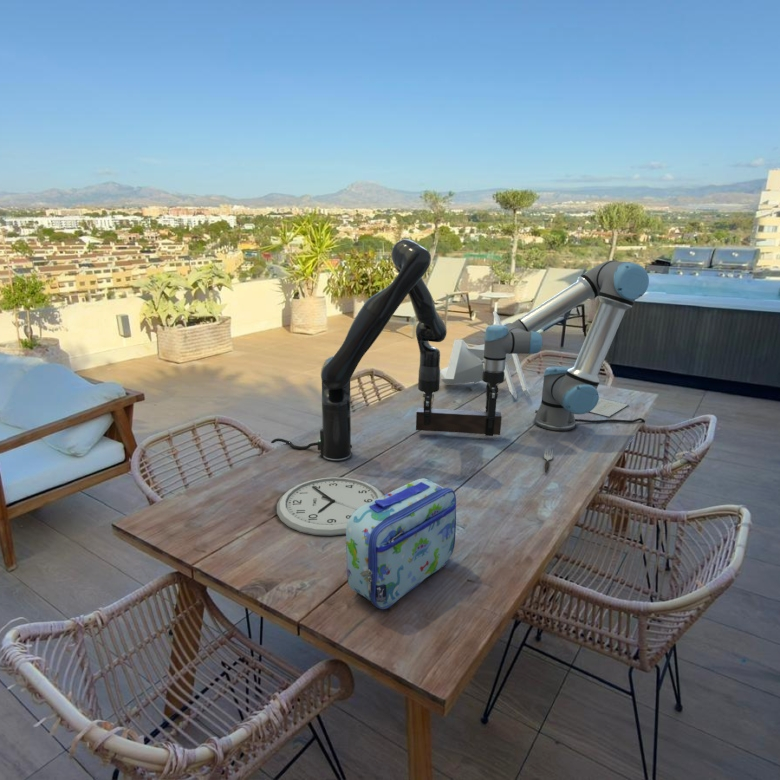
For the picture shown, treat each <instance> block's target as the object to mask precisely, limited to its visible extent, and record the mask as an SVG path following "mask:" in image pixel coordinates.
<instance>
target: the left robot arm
mask: <svg viewBox="0 0 780 780" xmlns="http://www.w3.org/2000/svg"><path fill="white" fill-rule="evenodd" d="M390 256H391V262H392V264H393V265H394V268H395V269H396V270H397V273H398V274H397V275H396V277H395V278H394V279H393V280H392V282H391V283H390V284H389V285H388V286H387V287H385V288H383V289H381V290H380V291H378V292H377V293H375V294H374V295H372V296H371V297H369V298H367V300H365V302H364V303H363V305H362V306H361V308H360V310H359V311H358V312H357V314H356V316H355V317H354V319H353V321H352V323H351V325H350V327H349V329H348V332H347V334H346V336H345V338H344V341H343V343H342V344H341V346H340V347H339V349H338V350H337V351H336V352H335V354H334V355H332V356H330V357H328V358H326V359H325V360H324V361H323V363H322V365H321V368H320V369H321V370H320V380H321V422H322V423H321V425H322V428H321V429H319V440H317V442H316V441H315V442H311V443H309V444H308V445H302V446H301V445H294V444H293V442H292V441H290V440H287V439H284V438H274V439H272V440H271V441H270V443H271V444H274V443H276V442H282V443H284V444H288V445H289V446H290V448H293V449H296V450H308V449H310V448H311V447H314V446H315V447H316V446H317V451H319V452H320V458H324V460H326V461H330V462H343V461H346V460H348V459H350V458H351V457H352V449H353V445H352V430H351V429H352V426H351V425H352V423H351V421H352V419H351V417H352V415H351V406H352V405H351V401H352V400H351V398H352V397H351V379H352V377H353V375H354V373H355V371H356V369H357V367H358V365H359V364H360V362H361V360H362V359H363V358H364V356H365V354H366V353H367V352H368V351H369V350H370V348H371V347H372V346H373V344H374V343H375V342H376V340H377V339H378V338H379V336H380V335H381V334H382V332H383V331H384V329H385V328H386V326H387V325H388V324H389V322H390V320H391V319H392V317H393V316H394V314H395V313H396V311H397V310H398V308H399V307H400V306H401V304H402V303H403V301H404V300H405V299H406V297H407V296H408V297H409V300H410V302H411V305H412V309H413V311H414V315H415V319H416V320H417V321H418V322H417V324H416V327H415V337H416V341H417V345H418V350H419V367H418V378H417V379H418V381H417V389H418V391H420V392H423V393H422V408H424V413H423V414H424V425H430V416H431V409H434V408H433V407H434V406H433V405H434V400H435V394H434V393H437V392H439V391H440V384H441V383H440V382H441V376H440V370H441V366H440V364H441V351H440V349H439V348H437V347H435V346H432V345H431V344H430V342H432V343H441V342H443V341H444V340H445V339H446V337H447V333H448V331H447V326H446V324H445V321H444V320H443V319H442V317H441V316H440V314H439V313H438V310H437V308H436V304H435V301H434V298H433V296H432V293H431V291H430V290H429V288H428V286H427V284H426V283H425V281H424V279H423V277H424V275H425V274H426V272H427V271H428V270H429V268H430V265H431V261H432V255H431V253H430V251H429V250H427V249H426V248H425V247H423V246H422V245H420V244H418V243H417V242H415V241H413V240H411V239H407V238H403V239H401V240H399V241H397V242H396V243H395V244H394V246H393V247H392V250H391V255H390ZM425 410H429V412H425ZM289 442H290V443H289Z"/></svg>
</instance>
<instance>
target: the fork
mask: <svg viewBox="0 0 780 780" xmlns="http://www.w3.org/2000/svg"><path fill="white" fill-rule="evenodd" d="M553 451H554V450H553V448H552V451H551V449H549V451H547V450H545V452H544V455H543V459H545V460H546V461H545V463H544V473H547V470H548V468H549V461H551V460H553Z"/></svg>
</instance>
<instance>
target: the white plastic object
mask: <svg viewBox="0 0 780 780" xmlns="http://www.w3.org/2000/svg"><path fill="white" fill-rule="evenodd" d="M492 315H493V319H494V321H495V325H503V324H502V321H501V318H500V315H499V314H498V312H497V311H496V310H495V311H492ZM484 344H485V343H483V344H479V345H473V346H469V345H468V343H466V342H465V340H464V339H463V338H460V339H458V338H454V340H453V344H452V349H451V353H450V357H449V362H448V366H446V367H444V368H442V369H441V368H440V381H442V383H443V384H444V385H445V386H449V385H458V384H467V383H468V384H469V383H473V384H477V383H480V382H483V380H482V372H483V370H484V369H483V363H482V360H484ZM510 360H513V363H514V366H515V369H516V372H517V376H518V380H519V382H520V385H521V389H522V391H523V393H524V395H525V396H526V397H528V396H531V395H530V390H529V388H528V387H529V386H528V384H527V381H526V378H525V375H524V371H523V369H522V368H523V367H522V366H521V362H520V359H519V354H506V362H505V370H504V378H505V380H506V383H507V386H508V390H509V393H510V394H511V395H512V397H513V398H514V399H515V400H517V392H516V391H517V390H516V388H515V385H514V381H513V378H512V375H511V371H510V369H509V365H508V361H510Z"/></svg>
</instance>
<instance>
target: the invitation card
mask: <svg viewBox="0 0 780 780" xmlns="http://www.w3.org/2000/svg"><path fill="white" fill-rule="evenodd" d="M628 406H629V404H627V403H623V402H618V401H614V400H609V399H605V398H601V397H599V400H598V403H597V405H596V406H595V408H594V409H592V410H591V411H590V412H589V413H593V414H596V415H600V416H604V417H608V418H609V417H611V416H613V415H614V414H616V413H617V412H619V411H621V410H623V409H624V408H626V407H628Z"/></svg>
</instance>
